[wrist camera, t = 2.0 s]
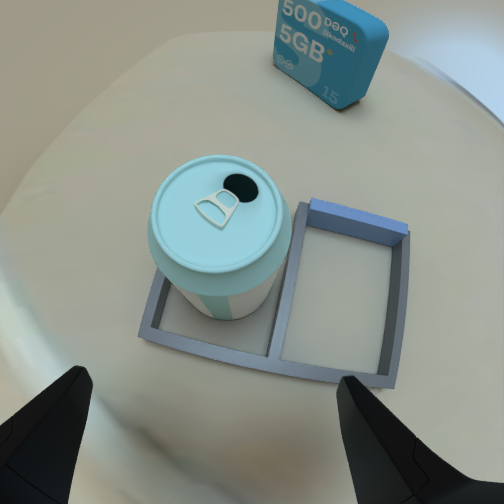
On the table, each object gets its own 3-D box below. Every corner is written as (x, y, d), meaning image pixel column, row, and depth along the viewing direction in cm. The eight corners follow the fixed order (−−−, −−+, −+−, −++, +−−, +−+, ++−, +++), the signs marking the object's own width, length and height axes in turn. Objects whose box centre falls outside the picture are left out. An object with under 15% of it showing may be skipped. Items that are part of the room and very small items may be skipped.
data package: (271, 64, 33) (279, -13, 22) (295, 55, 34) (307, -16, 23) (340, 115, 31) (371, 31, 19) (362, 103, 32) (393, 27, 20)
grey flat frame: (383, 387, 21) (400, 390, 18) (145, 338, 22) (132, 335, 19) (400, 239, 26) (415, 226, 23) (191, 190, 26) (186, 171, 24)
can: (191, 232, 25) (157, 140, 14) (274, 240, 25) (299, 150, 14) (178, 315, 23) (121, 277, 11) (267, 325, 23) (294, 296, 11)
